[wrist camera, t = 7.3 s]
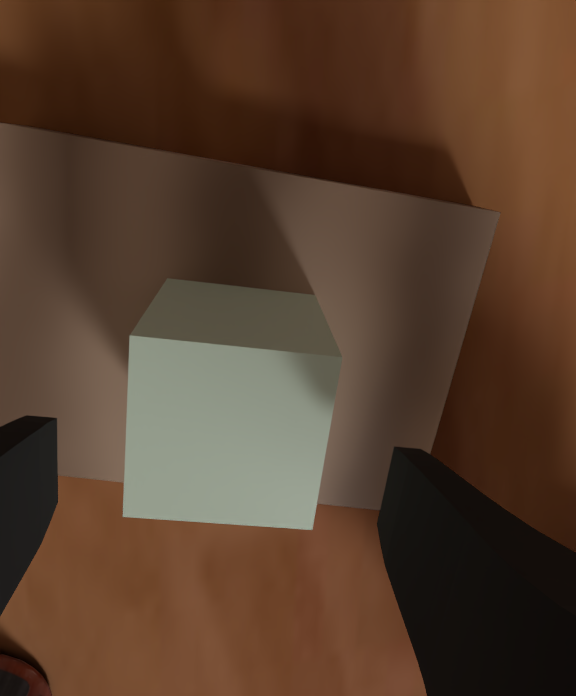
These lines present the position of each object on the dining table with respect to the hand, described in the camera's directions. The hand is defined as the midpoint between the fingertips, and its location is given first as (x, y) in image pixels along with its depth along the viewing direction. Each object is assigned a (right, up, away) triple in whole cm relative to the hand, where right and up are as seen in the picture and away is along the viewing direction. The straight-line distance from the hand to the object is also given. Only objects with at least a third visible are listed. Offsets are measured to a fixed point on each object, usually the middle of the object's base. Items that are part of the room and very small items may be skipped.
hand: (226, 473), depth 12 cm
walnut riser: (-1, +4, +10) cm, 11 cm away
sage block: (-1, +2, +8) cm, 8 cm away
